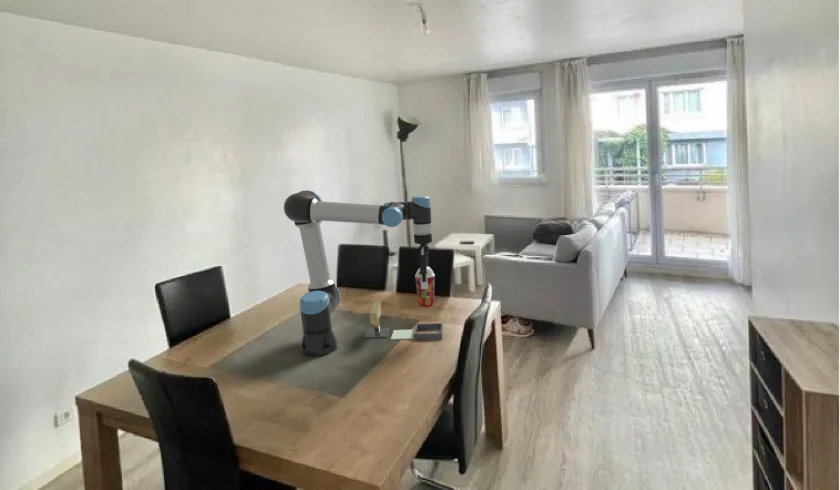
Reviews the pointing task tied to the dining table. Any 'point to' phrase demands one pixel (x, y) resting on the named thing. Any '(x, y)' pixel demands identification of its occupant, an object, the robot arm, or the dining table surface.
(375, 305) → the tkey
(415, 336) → the socket
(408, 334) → the mat
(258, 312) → the dining table surface
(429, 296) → the smoothie
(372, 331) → the lock plate
